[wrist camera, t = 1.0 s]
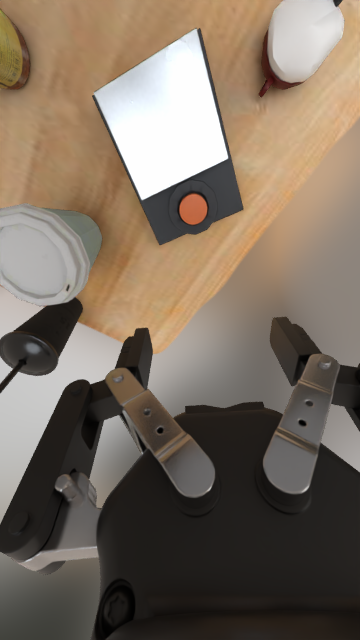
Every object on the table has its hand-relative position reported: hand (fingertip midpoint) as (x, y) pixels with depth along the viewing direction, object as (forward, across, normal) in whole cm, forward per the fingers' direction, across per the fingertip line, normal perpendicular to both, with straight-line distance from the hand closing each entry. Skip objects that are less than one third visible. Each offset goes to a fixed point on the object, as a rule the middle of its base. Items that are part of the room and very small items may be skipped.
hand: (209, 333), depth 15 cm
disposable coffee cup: (+25, +17, -3) cm, 30 cm away
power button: (+22, 0, -5) cm, 23 cm away
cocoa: (+25, -12, -19) cm, 33 cm away
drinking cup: (+25, +24, +10) cm, 36 cm away
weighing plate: (+22, +2, -13) cm, 26 cm away
